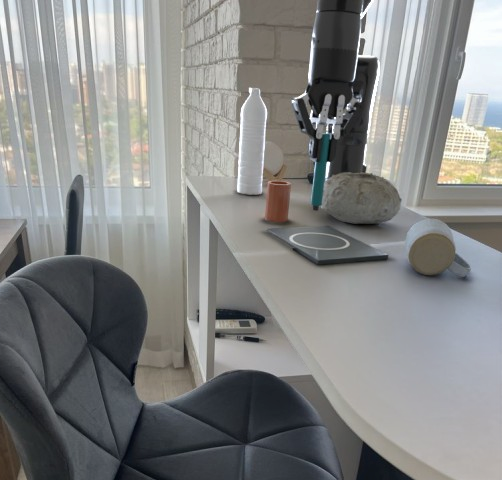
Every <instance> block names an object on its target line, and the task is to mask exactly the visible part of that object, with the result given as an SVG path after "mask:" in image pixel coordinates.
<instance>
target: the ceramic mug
mask: <svg viewBox="0 0 502 480" xmlns="http://www.w3.org/2000/svg"><path fill="white" fill-rule="evenodd" d="M404 247H405V251H406V257H407V261H408V263H409V265H410V266H411V268H412V269H413V270H414V271H416V272H417V273H419V274H421V275H423V276H424V275H425V276H436V275H437V276H438V275H439V274H442V273H444V272H445V271H446V270H448V271H449V272H451V273H453V274H454V275H456V276H458V277H462V278H464V277H467V276H468V275H469V273H470V272H471V271H472V267H471V265H470V263H468V261H466V260H465V259H464V258H463V257H462V256H460V255H459V254H458V253H456V250H457V249H456V243H455V240H454V235H453V232H452V230H451V228H450V227H449V226H448V224H447V223H445V222H444V221H442V220H441V219H437V218H424V219H420V220H418V221H416V222H415V223H414V224H413V225H412V226H411V227H410V228H409V230H408V231H407V233H406V236H405V241H404Z"/></svg>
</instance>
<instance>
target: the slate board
mask: <svg viewBox="0 0 502 480" xmlns="http://www.w3.org/2000/svg"><path fill="white" fill-rule="evenodd" d="M266 231H267V233H269V234H272V235H273V236H275V237H276V238H278V239H280V241H282V242H284V243H286V244H288V245H289V246H291V247H292V248H291V249H292V250H293V251H295V252H296V253H298V254H300V255H302V256H303V257H305V258H306V259H308V260H309V261H311V262H313V263H314V264H316V266H317V265H318V266H320V265H321V266H322V265H333V264H334V265H335V264H343V263H345V264H346V263H357V262H367V261H380V260H388V259H389V254H388V253H385V252H384V251H381V250H379V249H378V248H376V247H373V246H371V245H368V244H367V243H366V242H363V241H361V240H359V239H357V238H355V237H353V236H351V235H349V234H346V233H344V232H342V231H341V230H338V229H336V228H334V227H332V226H330V225H316V226H315V225H313V226H295V227H294V226H293V227H275V228H274V227H272V228H266Z"/></svg>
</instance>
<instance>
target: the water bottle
mask: <svg viewBox="0 0 502 480" xmlns="http://www.w3.org/2000/svg"><path fill="white" fill-rule="evenodd" d="M248 92H249V95H248V97H247V98H246V100H245V102H244V103H243V104H242V106H241V109H240V127H239V130H240V131H239V145H238V146H239V149H238V150H239V151H238V169H237V173H238V174H237V186H236V187H237V188H236V189H237V191H236V192H237V193H238V194H241V195H247V196H253V195H254V196H257V195H261V194H262V192H263V180H264V179H263V174H264V163H265V162H264V160H265V148H266V147H265V146H266V143H265V142H266V131H267V130H266V128H267V119H268V110H267V107H266V104H265V103H264V101H263V99H262V97H261V89H260V88H257V87H248Z"/></svg>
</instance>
